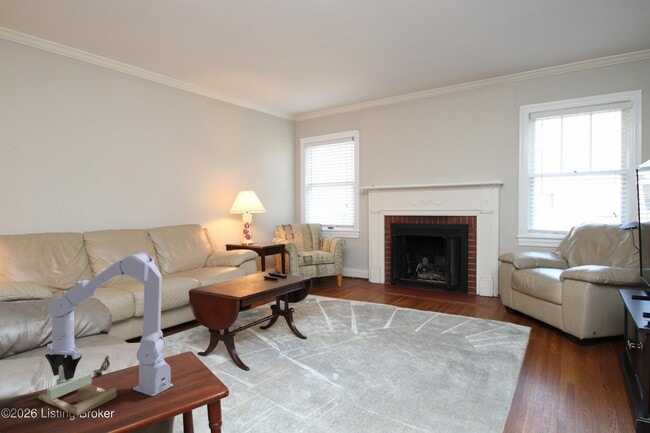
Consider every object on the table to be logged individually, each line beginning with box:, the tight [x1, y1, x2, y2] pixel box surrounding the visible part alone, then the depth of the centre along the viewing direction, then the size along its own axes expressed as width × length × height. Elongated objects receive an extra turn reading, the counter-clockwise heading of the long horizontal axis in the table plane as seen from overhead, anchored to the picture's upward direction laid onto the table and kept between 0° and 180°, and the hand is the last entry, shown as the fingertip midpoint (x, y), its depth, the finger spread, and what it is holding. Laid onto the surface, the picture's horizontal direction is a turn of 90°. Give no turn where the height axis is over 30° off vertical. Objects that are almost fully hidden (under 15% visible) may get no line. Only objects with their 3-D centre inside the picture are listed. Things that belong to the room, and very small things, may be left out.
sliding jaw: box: [46, 365, 93, 400], centre depth 116 cm, size 6×12×7 cm, turn 154°
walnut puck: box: [76, 384, 98, 404], centre depth 111 cm, size 5×5×4 cm
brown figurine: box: [95, 355, 111, 376], centre depth 132 cm, size 2×8×4 cm, turn 7°
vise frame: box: [38, 384, 117, 417], centre depth 113 cm, size 20×12×2 cm, turn 64°
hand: (63, 376), depth 117 cm, fingers open, 6 cm apart
